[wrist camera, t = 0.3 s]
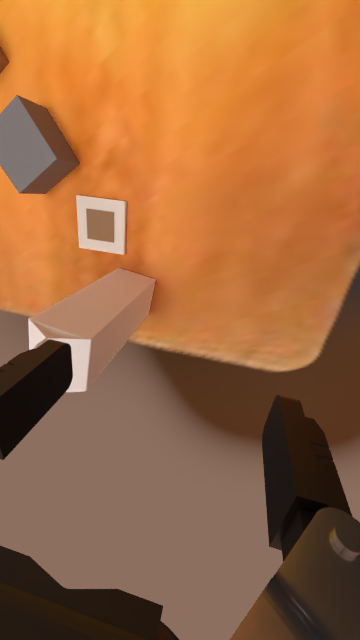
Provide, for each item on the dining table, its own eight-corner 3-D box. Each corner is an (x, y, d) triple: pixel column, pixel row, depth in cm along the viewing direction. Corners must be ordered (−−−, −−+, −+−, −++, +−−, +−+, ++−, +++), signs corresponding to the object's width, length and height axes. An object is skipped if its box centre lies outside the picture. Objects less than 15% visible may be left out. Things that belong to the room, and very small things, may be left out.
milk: (156, 278, 39) (71, 359, 20) (149, 314, 42) (67, 417, 22) (117, 267, 40) (-3, 334, 20) (113, 303, 42) (2, 393, 23)
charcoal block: (13, 144, 36) (-20, 136, 32) (47, 108, 33) (16, 94, 29) (45, 193, 38) (19, 193, 33) (80, 163, 35) (56, 158, 31)
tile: (78, 195, 37) (75, 195, 36) (126, 201, 36) (124, 201, 35) (81, 246, 40) (78, 247, 39) (125, 254, 39) (123, 255, 38)
